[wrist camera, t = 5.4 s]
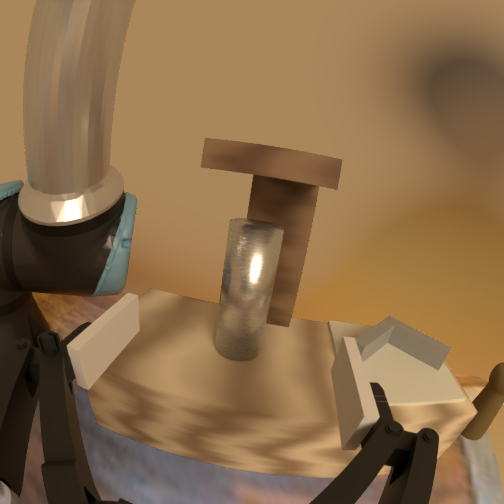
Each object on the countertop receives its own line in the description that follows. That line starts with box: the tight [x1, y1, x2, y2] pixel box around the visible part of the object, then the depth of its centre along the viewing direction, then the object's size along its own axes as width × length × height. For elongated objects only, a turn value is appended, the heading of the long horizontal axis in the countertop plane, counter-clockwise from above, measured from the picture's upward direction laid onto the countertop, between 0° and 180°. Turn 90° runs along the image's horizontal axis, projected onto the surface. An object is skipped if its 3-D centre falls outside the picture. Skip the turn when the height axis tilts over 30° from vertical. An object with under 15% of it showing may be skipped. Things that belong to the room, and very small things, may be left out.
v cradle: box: [328, 316, 466, 406], centre depth 25 cm, size 14×14×3 cm
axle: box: [215, 218, 284, 362], centre depth 24 cm, size 4×4×12 cm
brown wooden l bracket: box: [201, 138, 342, 327], centre depth 25 cm, size 9×12×18 cm
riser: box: [86, 288, 477, 477], centre depth 27 cm, size 38×16×10 cm, turn 83°
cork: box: [461, 363, 504, 440], centre depth 23 cm, size 6×6×11 cm
